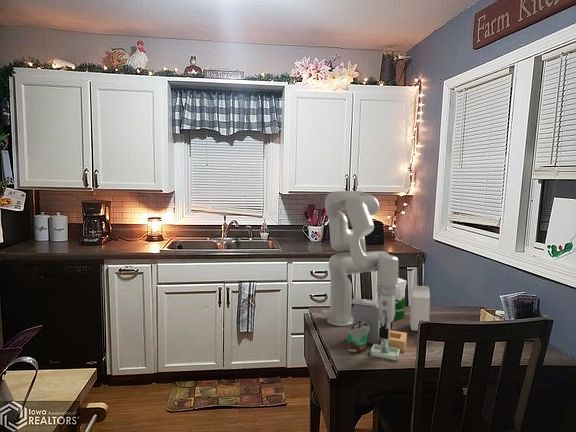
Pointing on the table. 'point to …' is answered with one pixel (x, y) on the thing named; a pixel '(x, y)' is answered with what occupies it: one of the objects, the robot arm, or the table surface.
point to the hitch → (377, 326)
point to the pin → (386, 342)
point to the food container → (358, 337)
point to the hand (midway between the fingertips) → (385, 333)
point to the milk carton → (419, 305)
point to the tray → (392, 355)
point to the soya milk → (400, 299)
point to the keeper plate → (364, 302)
